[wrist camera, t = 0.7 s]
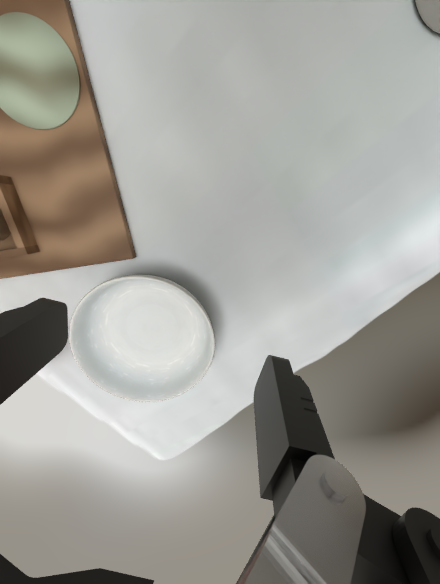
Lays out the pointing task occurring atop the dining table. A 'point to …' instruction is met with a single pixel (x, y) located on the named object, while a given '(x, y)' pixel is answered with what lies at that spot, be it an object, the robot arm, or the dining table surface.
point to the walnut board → (53, 148)
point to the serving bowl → (142, 338)
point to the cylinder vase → (430, 13)
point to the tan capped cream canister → (3, 227)
